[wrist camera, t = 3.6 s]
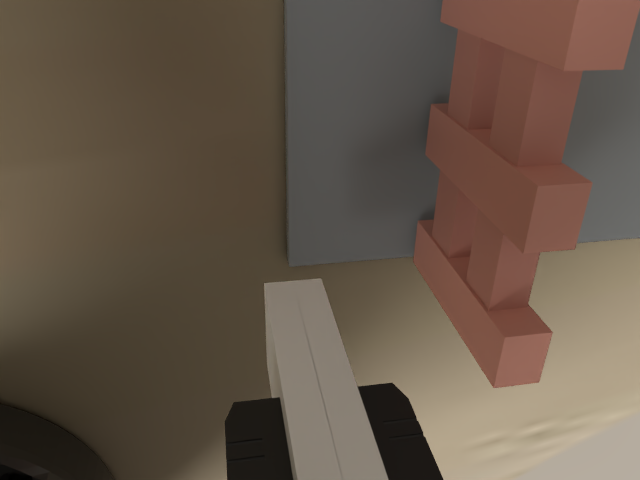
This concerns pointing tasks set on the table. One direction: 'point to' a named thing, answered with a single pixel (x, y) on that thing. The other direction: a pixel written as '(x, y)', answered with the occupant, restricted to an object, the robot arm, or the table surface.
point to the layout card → (416, 130)
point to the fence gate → (510, 166)
